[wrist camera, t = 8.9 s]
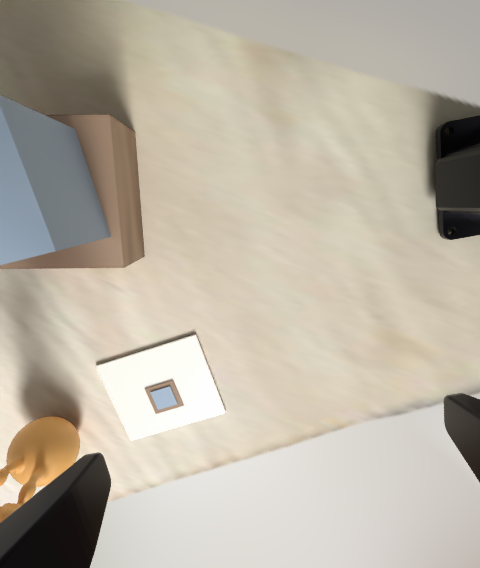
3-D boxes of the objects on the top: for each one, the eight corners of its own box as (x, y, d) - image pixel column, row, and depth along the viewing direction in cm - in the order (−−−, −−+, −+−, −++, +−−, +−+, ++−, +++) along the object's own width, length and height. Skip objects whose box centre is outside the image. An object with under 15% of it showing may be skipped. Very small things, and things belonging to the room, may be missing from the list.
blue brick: (75, 129, 15) (-5, 92, 10) (111, 236, 16) (56, 251, 11) (-28, 156, 15) (-155, 134, 10) (15, 260, 16) (-80, 285, 11)
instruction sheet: (195, 334, 21) (195, 336, 21) (225, 411, 22) (225, 414, 22) (96, 365, 22) (94, 368, 21) (131, 439, 23) (129, 443, 23)
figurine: (-6, 426, 23) (-266, 662, 11) (24, 356, 21) (-230, 537, 10) (105, 473, 24) (-24, 736, 12) (140, 409, 22) (34, 632, 11)
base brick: (136, 133, 19) (109, 114, 15) (145, 255, 20) (123, 267, 16) (13, 134, 18) (-47, 115, 15) (32, 256, 20) (-17, 268, 16)
